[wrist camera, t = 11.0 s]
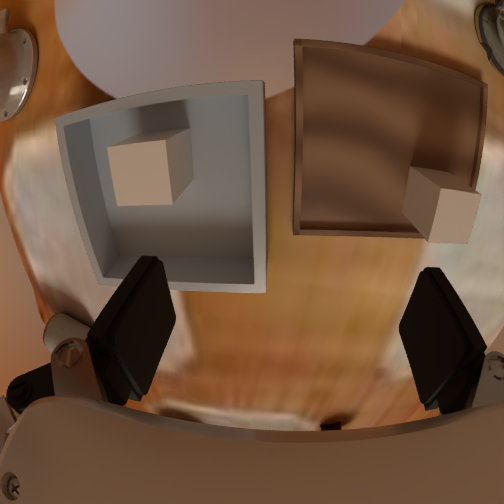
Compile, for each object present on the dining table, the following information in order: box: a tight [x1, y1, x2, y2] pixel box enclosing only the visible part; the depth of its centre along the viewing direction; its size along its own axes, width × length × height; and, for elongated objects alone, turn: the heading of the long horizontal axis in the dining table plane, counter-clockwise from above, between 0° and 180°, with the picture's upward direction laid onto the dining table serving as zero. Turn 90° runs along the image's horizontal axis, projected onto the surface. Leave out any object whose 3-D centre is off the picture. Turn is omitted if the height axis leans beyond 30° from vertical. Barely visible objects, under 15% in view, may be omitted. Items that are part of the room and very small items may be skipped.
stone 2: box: [402, 166, 481, 244], centre depth 21 cm, size 5×5×6 cm
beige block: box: [107, 128, 194, 206], centre depth 21 cm, size 5×5×6 cm
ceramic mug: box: [43, 313, 90, 352], centre depth 38 cm, size 11×8×8 cm
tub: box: [55, 80, 267, 293], centre depth 24 cm, size 18×18×5 cm
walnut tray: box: [293, 39, 488, 238], centre depth 21 cm, size 18×20×1 cm
